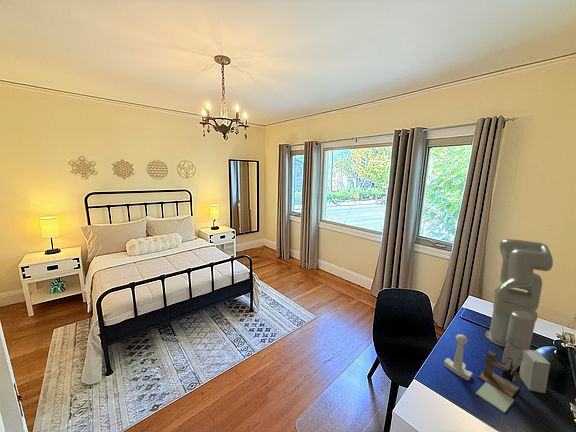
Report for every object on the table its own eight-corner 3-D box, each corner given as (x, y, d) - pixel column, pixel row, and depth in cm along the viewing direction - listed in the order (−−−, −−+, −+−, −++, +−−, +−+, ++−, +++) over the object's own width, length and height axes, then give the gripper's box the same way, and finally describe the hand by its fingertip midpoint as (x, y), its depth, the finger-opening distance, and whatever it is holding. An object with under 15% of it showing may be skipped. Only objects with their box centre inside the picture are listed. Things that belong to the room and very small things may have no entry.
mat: (485, 383, 111) (485, 381, 111) (514, 400, 102) (514, 399, 102) (475, 393, 106) (475, 392, 106) (504, 413, 97) (504, 412, 97)
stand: (486, 370, 118) (490, 347, 115) (519, 389, 107) (524, 364, 105) (478, 377, 114) (482, 354, 111) (512, 398, 103) (517, 373, 101)
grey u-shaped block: (509, 376, 109) (512, 362, 108) (514, 379, 108) (518, 364, 106) (503, 384, 106) (506, 369, 104) (508, 387, 104) (511, 372, 103)
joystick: (442, 365, 121) (447, 330, 117) (450, 358, 125) (455, 324, 121) (467, 381, 112) (473, 344, 108) (475, 374, 115) (481, 338, 111)
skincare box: (545, 394, 105) (552, 365, 102) (528, 390, 107) (534, 362, 104) (533, 377, 113) (539, 350, 110) (517, 374, 115) (522, 348, 112)
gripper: (514, 327, 110) (507, 361, 114) (498, 342, 101) (491, 378, 105) (536, 337, 103) (529, 372, 107) (522, 354, 95) (514, 391, 99)
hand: (510, 375), depth 106 cm, fingers closed on grey u-shaped block, 7 cm apart
